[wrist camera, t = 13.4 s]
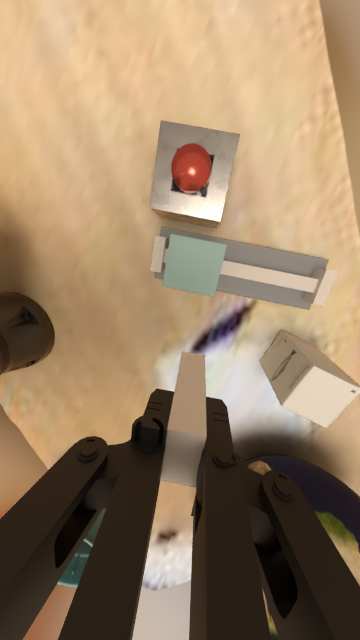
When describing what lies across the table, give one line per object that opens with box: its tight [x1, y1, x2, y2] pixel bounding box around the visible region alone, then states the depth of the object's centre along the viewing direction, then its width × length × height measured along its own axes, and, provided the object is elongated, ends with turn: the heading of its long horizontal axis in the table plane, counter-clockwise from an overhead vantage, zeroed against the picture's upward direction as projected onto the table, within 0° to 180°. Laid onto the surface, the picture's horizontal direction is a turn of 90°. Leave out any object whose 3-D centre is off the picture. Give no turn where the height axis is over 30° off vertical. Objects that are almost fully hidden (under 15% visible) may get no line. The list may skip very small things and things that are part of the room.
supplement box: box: [260, 330, 360, 428], centre depth 34 cm, size 7×7×13 cm
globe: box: [243, 455, 360, 640], centre depth 34 cm, size 30×30×30 cm
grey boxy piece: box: [150, 120, 240, 228], centre depth 29 cm, size 9×9×8 cm
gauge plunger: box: [171, 143, 211, 196], centre depth 27 cm, size 4×4×7 cm
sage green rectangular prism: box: [162, 234, 227, 297], centre depth 29 cm, size 6×6×12 cm
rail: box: [150, 227, 338, 310], centre depth 34 cm, size 26×8×5 cm, turn 79°
